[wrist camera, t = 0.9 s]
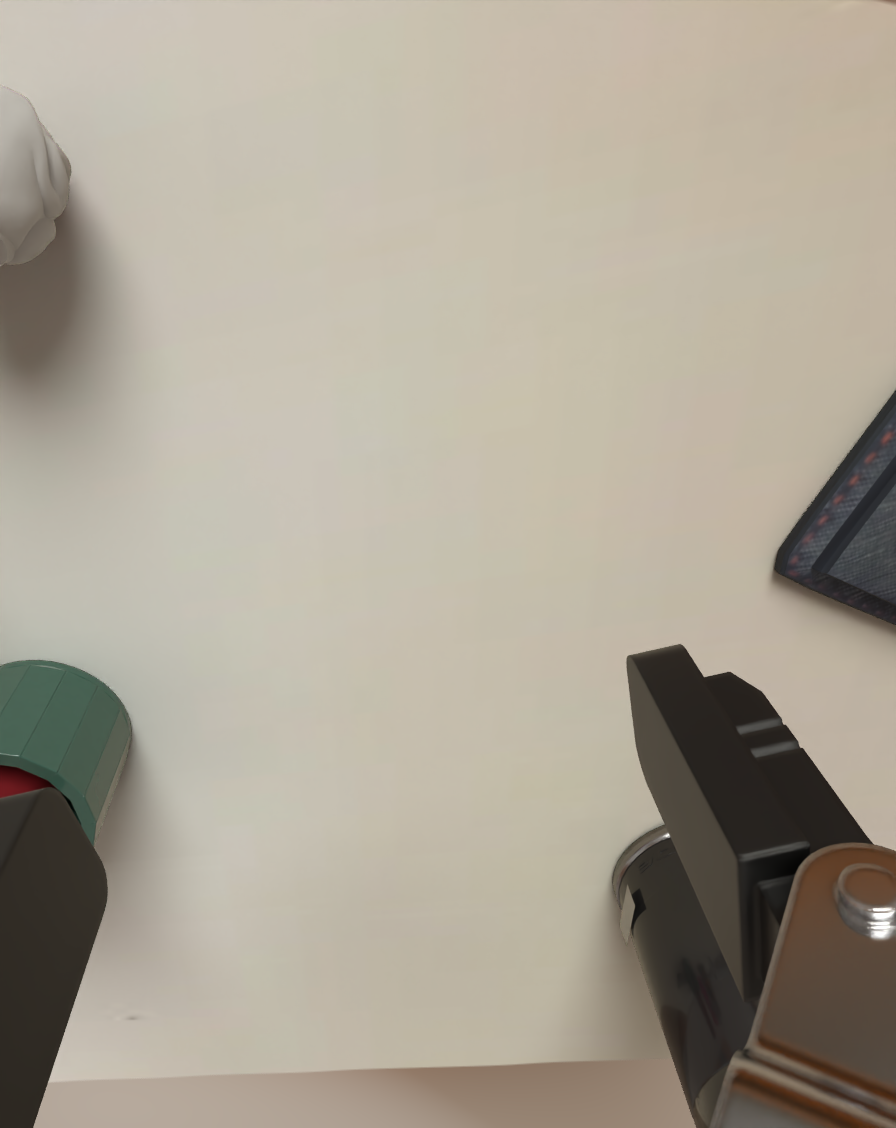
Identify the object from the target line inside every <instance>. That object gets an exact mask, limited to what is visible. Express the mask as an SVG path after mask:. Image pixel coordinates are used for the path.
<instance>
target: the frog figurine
mask: <svg viewBox="0 0 896 1128" xmlns="http://www.w3.org/2000/svg"><path fill="white" fill-rule="evenodd" d="M70 176H71V165H70V162H69V160H68V158H67V156H66V155H65V153H64V152H63V151H62V150H61V148H60V147H59V146H58V145H57V144H56V143H55V141H54V140H53V138H52V136H51V135H50V133H49V132H48V131H47V129H46V128H45V127H44V125H43V124H42V123H41V122H40V121H39V119H38V116H37V114H36V111H35V109H34V107H33V106H32V104H31V103H30V101H29V100H28V98H26V97H25V96H23V95H22V94H20V93H18V92H16V91H13V90H11V89H9V88H7V87H5V86H3V85H0V266H2V265H4V264H6V265H18V264H23V263H26V262H29V261H31V260H32V259H34V258H35V257H36V256H38V255H39V254H41V253H42V252H43V251H44V250H45V248H46V247H47V245H48V244H49V243H51V242H52V241H53V240H54V238H55V235H56V226H55V222H54V220H55V219H56V217H58V216H60V215H61V214H62V212H63V211H64V209H65V207H66V205H67V202H68V196H69V180H70Z"/></svg>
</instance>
